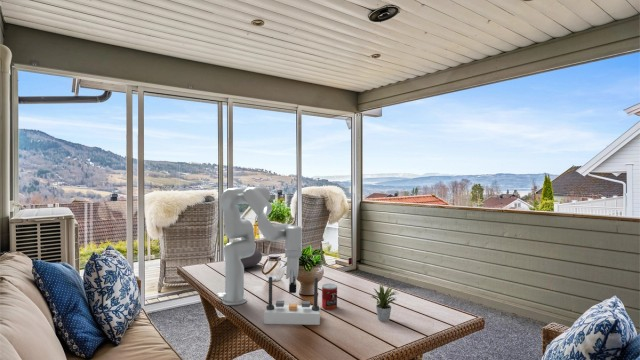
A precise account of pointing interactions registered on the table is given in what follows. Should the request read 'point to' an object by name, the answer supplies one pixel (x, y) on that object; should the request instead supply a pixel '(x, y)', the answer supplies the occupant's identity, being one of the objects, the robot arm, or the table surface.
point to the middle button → (292, 306)
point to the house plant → (384, 303)
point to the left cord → (270, 296)
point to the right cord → (315, 295)
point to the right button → (305, 303)
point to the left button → (279, 303)
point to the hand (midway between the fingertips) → (292, 292)
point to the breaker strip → (292, 315)
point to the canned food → (329, 296)
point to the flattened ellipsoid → (252, 259)
